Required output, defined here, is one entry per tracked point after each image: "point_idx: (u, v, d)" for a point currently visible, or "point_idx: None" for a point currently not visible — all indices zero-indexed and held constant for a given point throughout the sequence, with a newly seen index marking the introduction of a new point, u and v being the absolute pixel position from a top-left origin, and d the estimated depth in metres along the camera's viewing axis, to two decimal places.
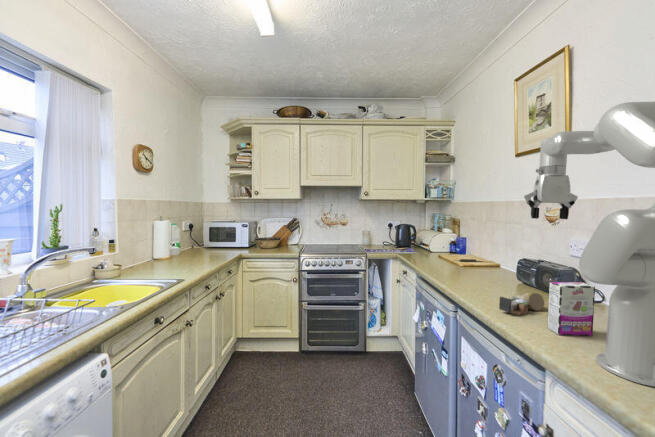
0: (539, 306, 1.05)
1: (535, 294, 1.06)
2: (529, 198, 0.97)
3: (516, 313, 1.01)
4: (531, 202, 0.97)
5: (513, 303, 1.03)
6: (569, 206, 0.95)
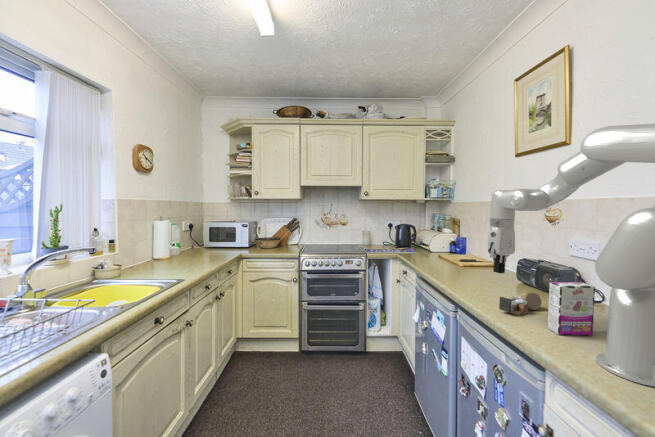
0: (536, 306, 1.05)
1: (532, 294, 1.06)
2: (495, 256, 0.96)
3: (516, 313, 1.01)
4: (498, 257, 0.96)
5: (513, 303, 1.03)
6: (505, 260, 0.98)
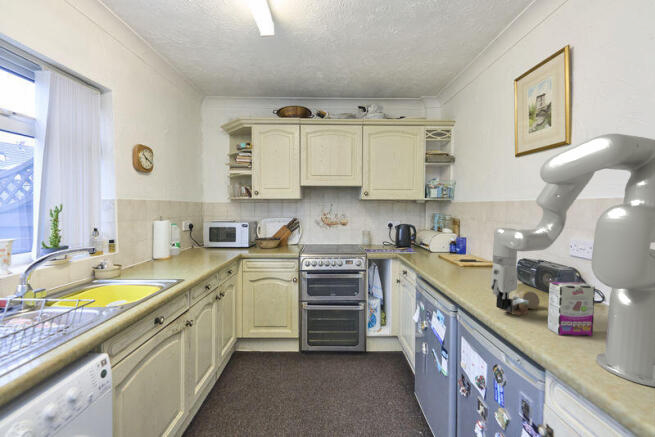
0: (534, 304, 1.06)
1: (530, 293, 1.07)
2: (498, 293, 0.98)
3: (516, 313, 1.01)
4: (501, 294, 0.98)
5: (514, 303, 1.04)
6: (507, 297, 1.00)
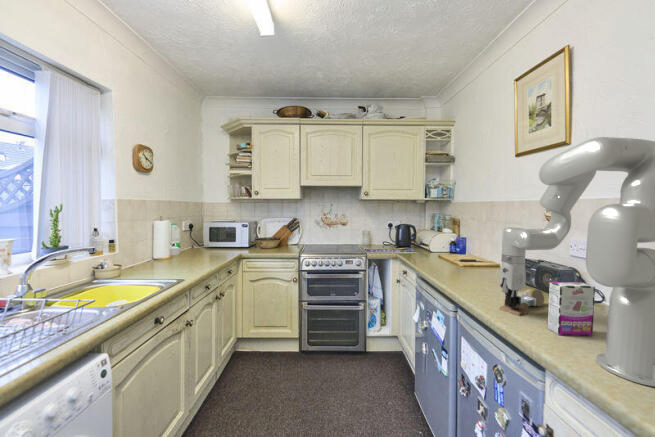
0: (540, 302, 1.09)
1: (536, 290, 1.10)
2: (507, 291, 1.01)
3: (516, 313, 1.01)
4: (510, 292, 1.01)
5: (522, 300, 1.06)
6: (516, 294, 1.03)
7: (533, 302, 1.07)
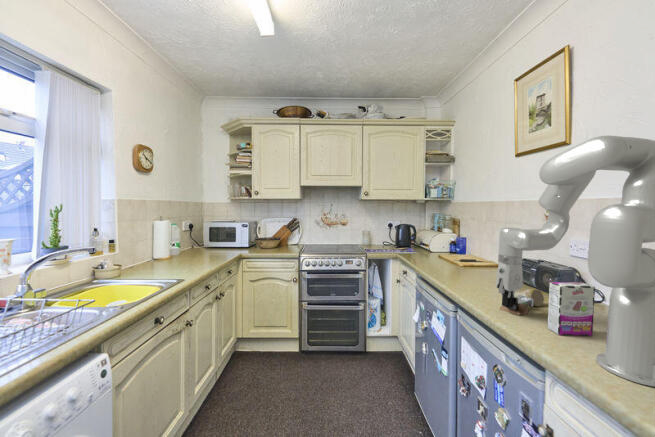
0: (540, 302, 1.09)
1: (536, 290, 1.10)
2: (503, 291, 1.00)
3: (516, 313, 1.01)
4: (506, 293, 1.00)
5: (519, 301, 1.05)
6: (513, 295, 1.02)
7: (530, 303, 1.06)
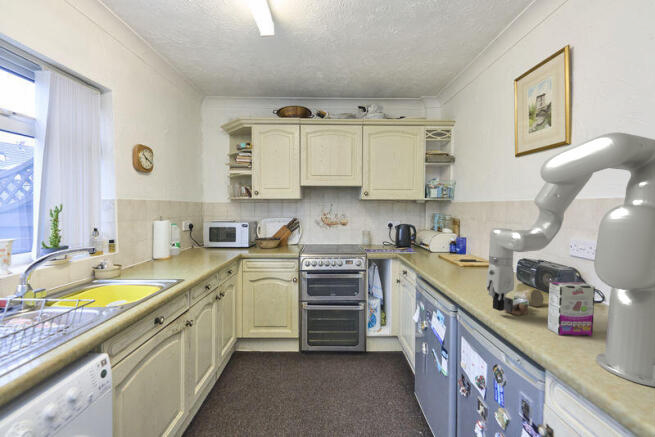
0: (540, 302, 1.09)
1: (535, 290, 1.10)
2: (494, 294, 0.97)
3: (516, 313, 1.01)
4: (497, 295, 0.97)
5: (515, 303, 1.04)
6: (504, 298, 0.99)
7: None
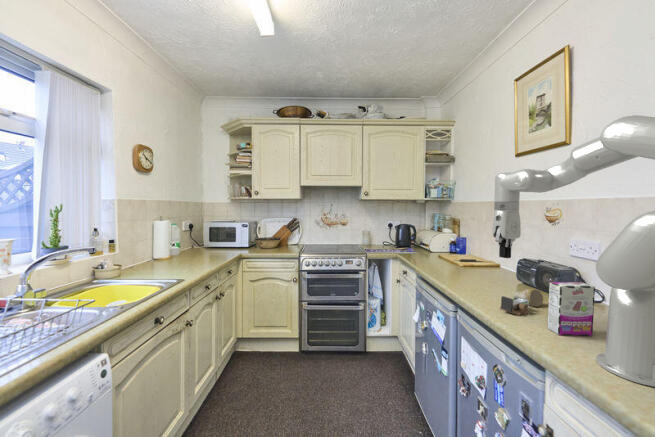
0: (539, 302, 1.09)
1: (535, 291, 1.10)
2: (501, 240, 0.94)
3: (516, 313, 1.01)
4: (504, 242, 0.94)
5: (515, 303, 1.04)
6: (511, 245, 0.95)
7: None
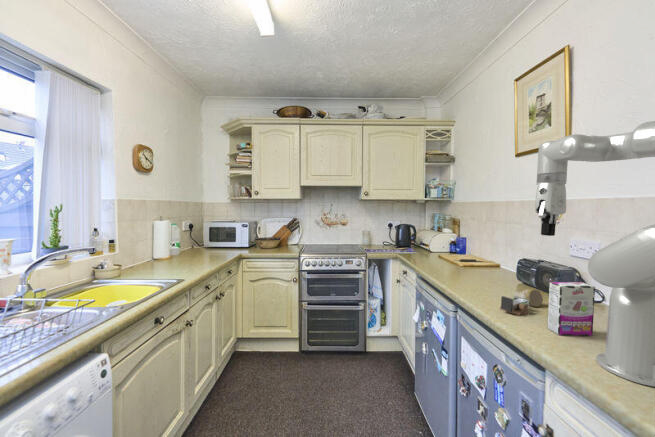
0: (539, 302, 1.09)
1: (534, 291, 1.10)
2: (545, 215, 0.85)
3: (516, 313, 1.01)
4: (548, 217, 0.85)
5: (515, 303, 1.04)
6: (555, 221, 0.87)
7: None
